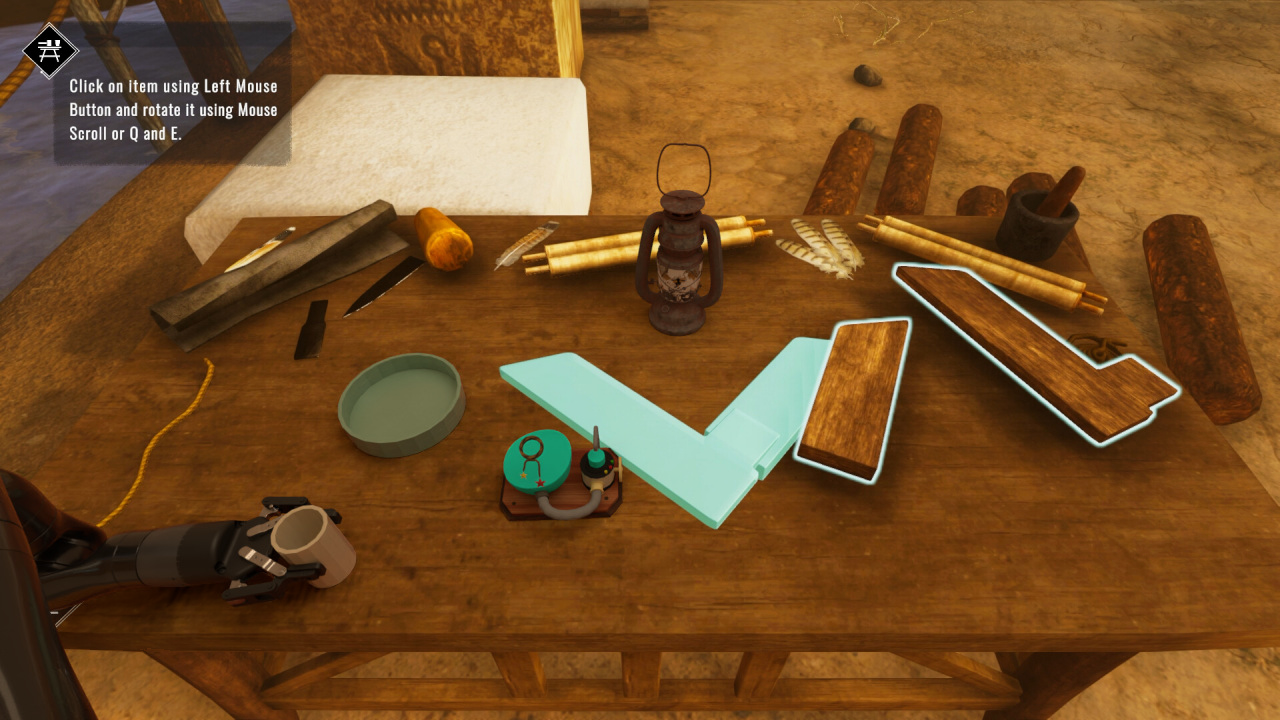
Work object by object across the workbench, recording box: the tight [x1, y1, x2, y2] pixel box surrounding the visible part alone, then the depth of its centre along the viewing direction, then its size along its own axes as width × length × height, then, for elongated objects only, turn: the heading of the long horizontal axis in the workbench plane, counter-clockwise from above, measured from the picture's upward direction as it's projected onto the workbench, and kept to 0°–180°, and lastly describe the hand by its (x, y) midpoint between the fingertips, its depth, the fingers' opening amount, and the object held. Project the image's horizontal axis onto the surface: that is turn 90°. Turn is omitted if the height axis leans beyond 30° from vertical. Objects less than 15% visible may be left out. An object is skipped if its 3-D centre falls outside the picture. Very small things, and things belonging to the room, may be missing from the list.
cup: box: [271, 504, 357, 589], centre depth 73 cm, size 6×6×10 cm
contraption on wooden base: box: [498, 425, 624, 522], centre depth 79 cm, size 14×18×15 cm
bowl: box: [337, 352, 467, 459], centre depth 94 cm, size 19×19×4 cm
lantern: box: [634, 142, 724, 337], centre depth 99 cm, size 11×16×35 cm
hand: (331, 542), depth 73 cm, fingers closed on cup, 6 cm apart
